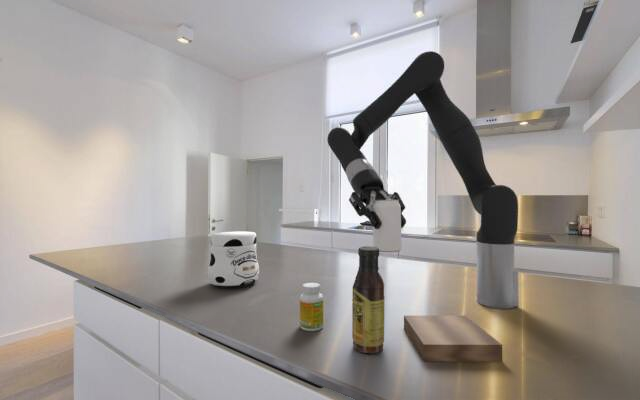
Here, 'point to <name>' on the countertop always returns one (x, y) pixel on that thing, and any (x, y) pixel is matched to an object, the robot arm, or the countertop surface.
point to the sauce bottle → (368, 303)
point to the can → (388, 226)
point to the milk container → (233, 259)
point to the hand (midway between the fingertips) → (391, 225)
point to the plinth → (451, 339)
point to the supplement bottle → (311, 307)
